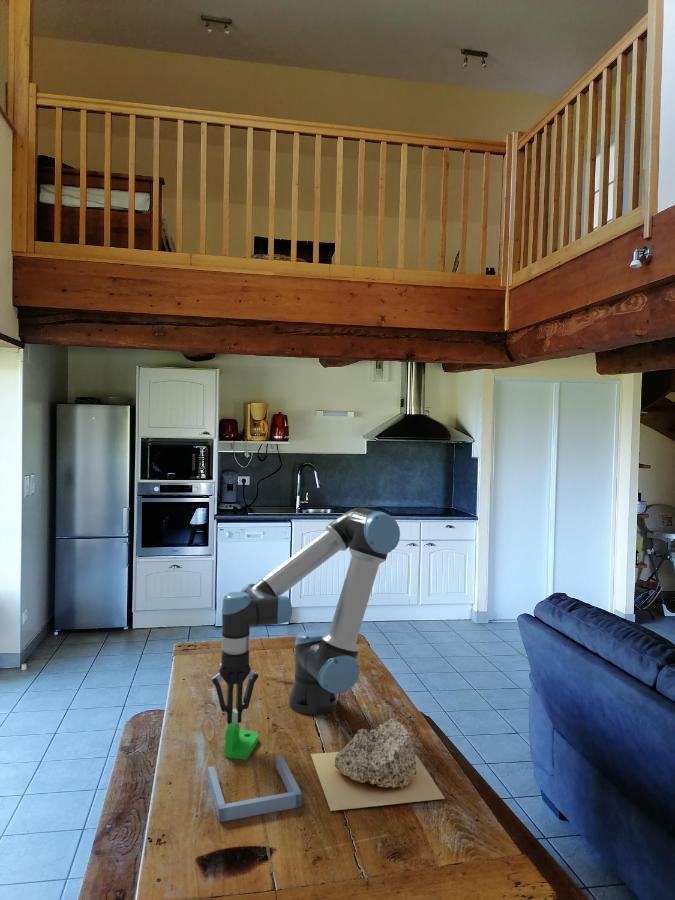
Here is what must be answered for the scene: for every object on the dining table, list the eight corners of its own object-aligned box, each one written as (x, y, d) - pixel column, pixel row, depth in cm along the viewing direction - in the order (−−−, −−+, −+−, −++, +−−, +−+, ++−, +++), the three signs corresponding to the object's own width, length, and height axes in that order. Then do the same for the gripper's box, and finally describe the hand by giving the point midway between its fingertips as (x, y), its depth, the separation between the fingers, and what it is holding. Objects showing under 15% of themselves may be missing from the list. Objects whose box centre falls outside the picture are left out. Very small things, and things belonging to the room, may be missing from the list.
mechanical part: (246, 760, 165) (247, 730, 165) (224, 758, 166) (225, 728, 166) (260, 739, 177) (261, 710, 177) (240, 736, 178) (240, 708, 178)
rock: (409, 743, 173) (423, 707, 165) (433, 825, 156) (449, 789, 147) (310, 751, 167) (318, 714, 158) (322, 837, 149) (333, 801, 141)
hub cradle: (282, 766, 162) (282, 755, 162) (301, 806, 145) (302, 793, 145) (207, 779, 156) (207, 767, 156) (219, 822, 139) (219, 808, 139)
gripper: (256, 643, 179) (254, 725, 179) (209, 647, 174) (208, 731, 175) (261, 652, 172) (259, 737, 172) (213, 656, 167) (211, 744, 168)
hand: (233, 734), depth 174 cm, fingers closed
